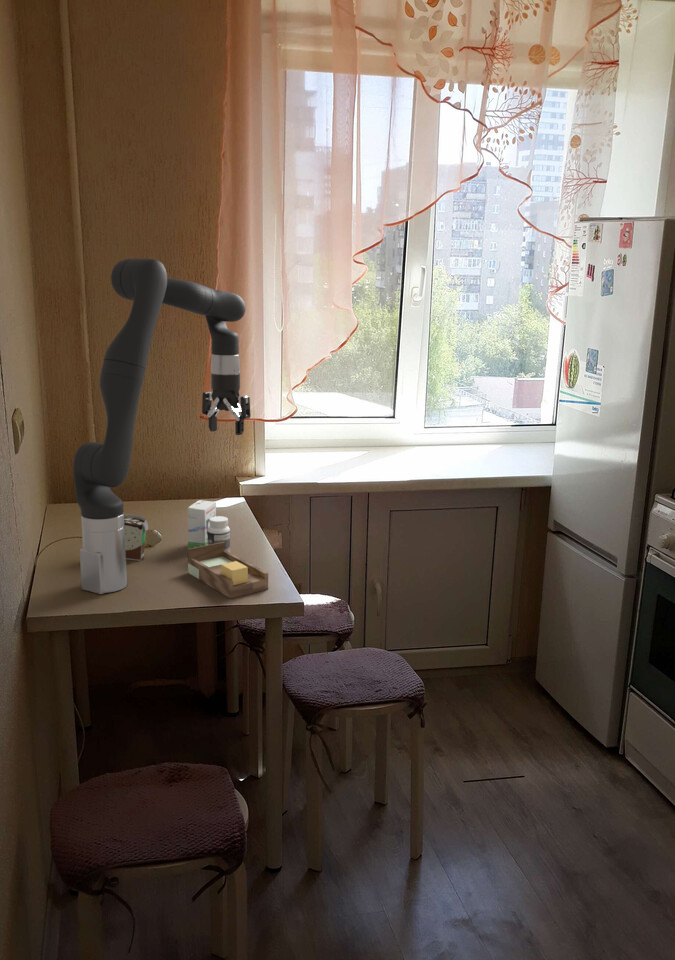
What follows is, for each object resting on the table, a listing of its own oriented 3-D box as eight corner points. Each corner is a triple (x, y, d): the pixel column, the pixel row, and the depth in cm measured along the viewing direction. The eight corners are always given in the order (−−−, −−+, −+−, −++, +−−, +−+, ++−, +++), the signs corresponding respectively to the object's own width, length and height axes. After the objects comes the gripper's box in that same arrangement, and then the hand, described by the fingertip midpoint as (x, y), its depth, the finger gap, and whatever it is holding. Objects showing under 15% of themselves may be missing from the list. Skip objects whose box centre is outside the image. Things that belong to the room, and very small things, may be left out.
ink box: (198, 541, 223) (197, 499, 220) (217, 543, 222) (216, 500, 219) (186, 551, 215) (185, 507, 212) (205, 553, 214) (205, 509, 211)
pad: (233, 571, 201) (232, 562, 200) (199, 579, 195) (198, 569, 195) (221, 565, 205) (221, 555, 204) (188, 572, 199) (187, 562, 199)
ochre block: (247, 581, 187) (247, 567, 186) (232, 585, 185) (232, 570, 184) (236, 575, 191) (236, 561, 190) (221, 578, 189) (221, 564, 188)
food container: (158, 554, 212) (156, 516, 210) (146, 561, 207) (145, 523, 204) (115, 549, 216) (113, 512, 213) (102, 556, 210) (100, 518, 208)
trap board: (268, 589, 190) (268, 564, 189) (230, 598, 184) (229, 572, 183) (224, 564, 205) (224, 541, 204) (188, 572, 199) (187, 548, 198)
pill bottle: (205, 553, 213) (204, 516, 211) (227, 551, 215) (227, 514, 213) (210, 560, 208) (209, 522, 206) (232, 558, 210) (232, 520, 208)
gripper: (194, 371, 217) (196, 432, 221) (238, 375, 210) (239, 438, 214) (213, 368, 223) (213, 428, 227) (256, 372, 216) (256, 433, 220)
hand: (226, 432), depth 220 cm, fingers open, 8 cm apart
